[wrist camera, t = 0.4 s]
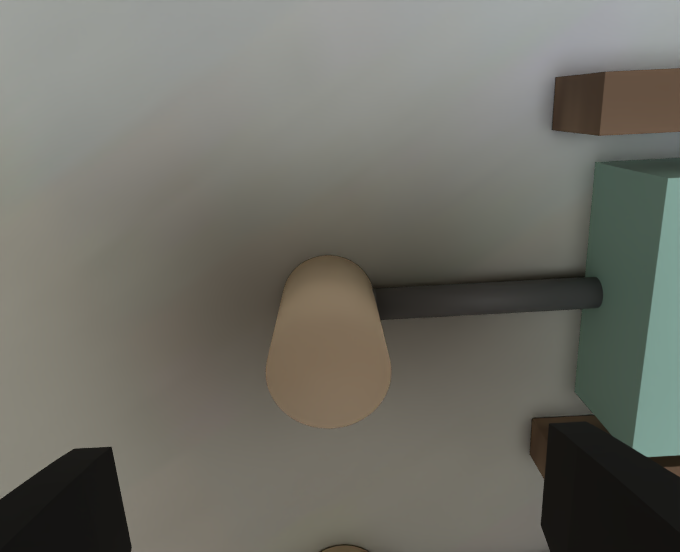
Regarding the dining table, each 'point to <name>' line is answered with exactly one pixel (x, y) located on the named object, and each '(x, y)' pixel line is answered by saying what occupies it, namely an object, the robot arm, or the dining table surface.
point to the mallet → (511, 297)
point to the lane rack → (612, 119)
